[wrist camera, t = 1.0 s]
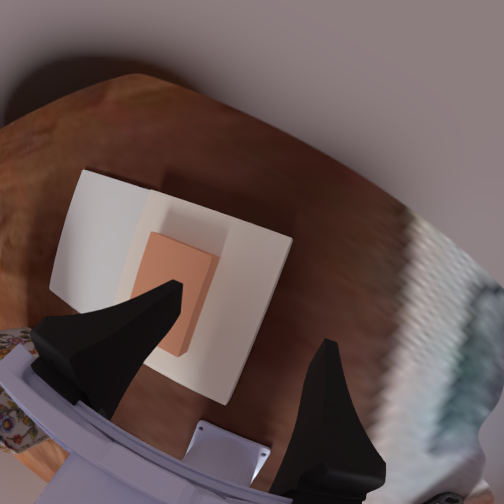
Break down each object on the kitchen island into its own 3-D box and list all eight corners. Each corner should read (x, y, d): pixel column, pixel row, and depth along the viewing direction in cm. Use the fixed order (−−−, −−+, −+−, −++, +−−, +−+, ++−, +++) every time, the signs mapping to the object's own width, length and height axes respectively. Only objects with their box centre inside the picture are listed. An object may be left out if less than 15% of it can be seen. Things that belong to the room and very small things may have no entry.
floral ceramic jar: (84, 421, 29) (-9, 471, 11) (36, 393, 31) (-47, 422, 14) (75, 343, 29) (-44, 372, 12) (27, 323, 32) (-70, 335, 14)
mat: (113, 333, 28) (110, 334, 28) (51, 288, 31) (48, 288, 30) (156, 192, 28) (154, 191, 27) (85, 170, 30) (83, 169, 30)
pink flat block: (187, 351, 24) (178, 357, 22) (134, 322, 25) (122, 326, 23) (220, 257, 24) (212, 256, 22) (162, 233, 25) (151, 231, 23)
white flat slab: (231, 396, 25) (225, 405, 23) (116, 335, 28) (105, 339, 26) (293, 240, 25) (291, 237, 23) (160, 193, 28) (150, 189, 26)
